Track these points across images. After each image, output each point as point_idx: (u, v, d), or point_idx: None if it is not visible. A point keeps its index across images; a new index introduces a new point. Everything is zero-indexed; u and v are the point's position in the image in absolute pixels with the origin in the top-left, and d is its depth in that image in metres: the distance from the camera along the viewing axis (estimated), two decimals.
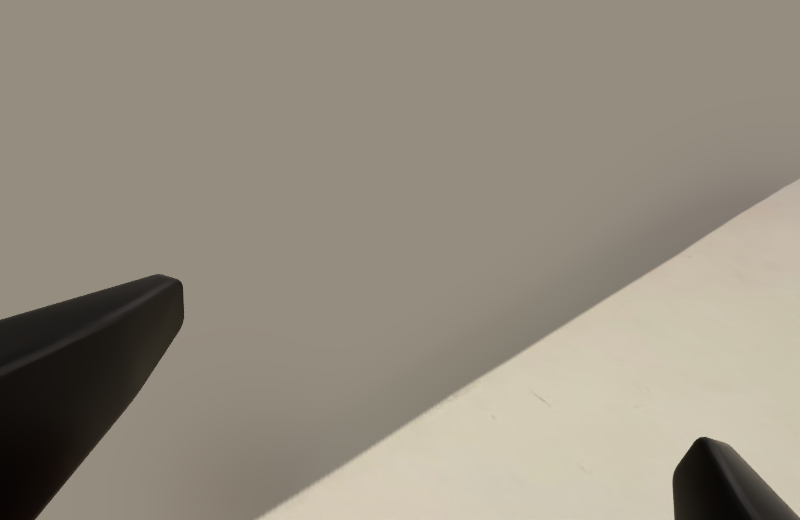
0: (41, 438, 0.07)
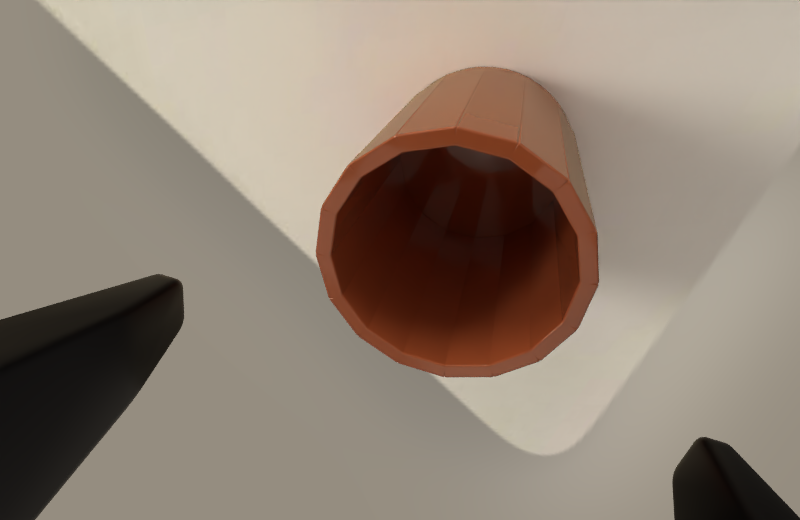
0: (41, 438, 0.07)
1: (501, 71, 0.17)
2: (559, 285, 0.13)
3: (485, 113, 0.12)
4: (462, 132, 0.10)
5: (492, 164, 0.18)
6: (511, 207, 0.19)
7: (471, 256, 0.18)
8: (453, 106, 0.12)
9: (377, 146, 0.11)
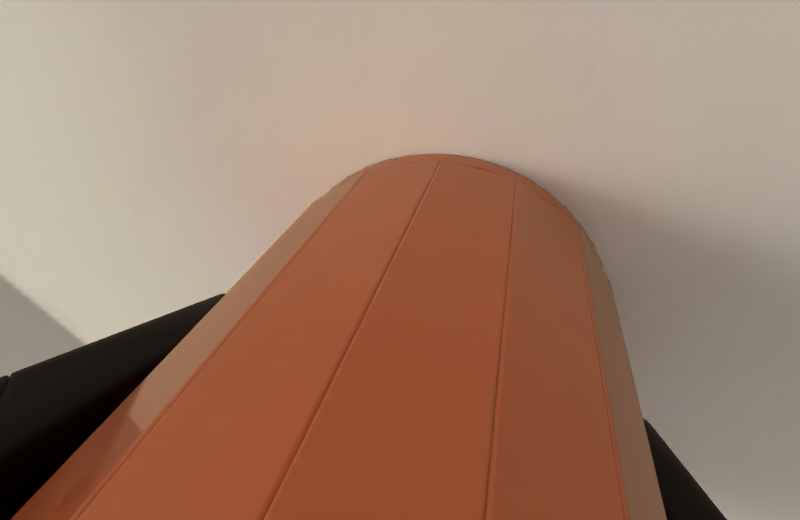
0: None
1: (468, 170, 0.08)
2: None
3: (371, 449, 0.03)
4: None
5: None
6: None
7: None
8: (286, 387, 0.04)
9: None
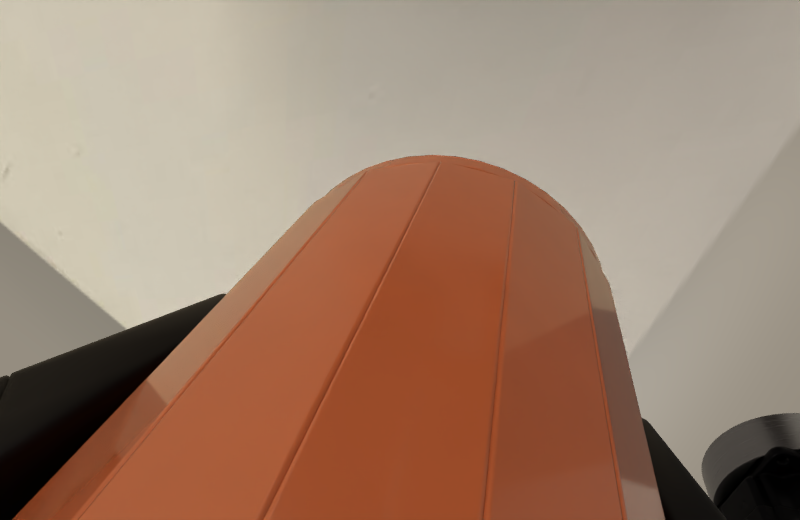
0: None
1: (468, 171, 0.08)
2: None
3: (370, 451, 0.03)
4: None
5: None
6: None
7: None
8: (286, 389, 0.04)
9: None
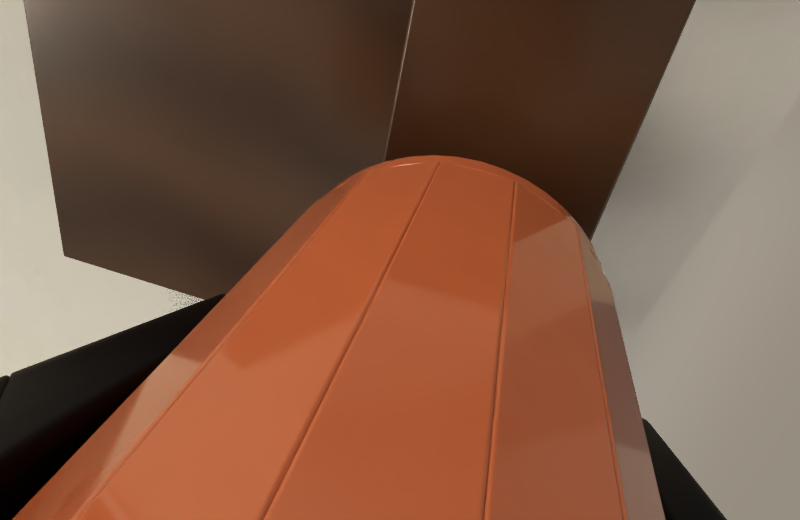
0: None
1: (468, 171, 0.08)
2: None
3: (369, 454, 0.03)
4: None
5: None
6: None
7: None
8: (285, 391, 0.04)
9: None
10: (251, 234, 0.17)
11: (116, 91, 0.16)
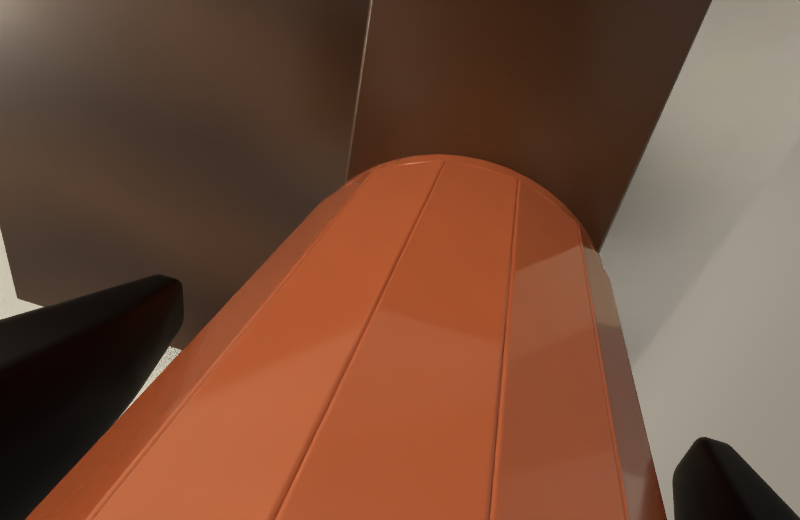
0: (41, 438, 0.07)
1: (472, 169, 0.09)
2: None
3: (386, 427, 0.04)
4: None
5: None
6: None
7: None
8: (306, 371, 0.04)
9: None
10: (212, 280, 0.16)
11: (59, 129, 0.15)
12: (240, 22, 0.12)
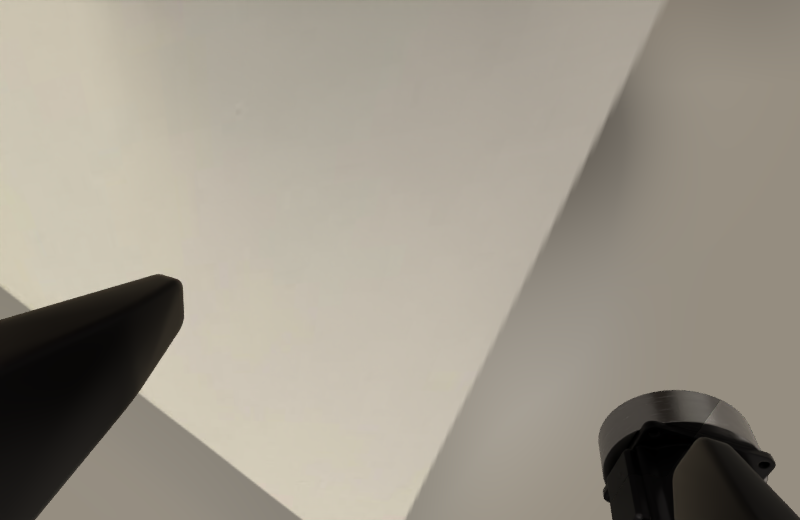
0: (41, 438, 0.07)
1: None
2: None
3: None
4: None
5: None
6: None
7: None
8: None
9: None
10: None
11: None
12: None
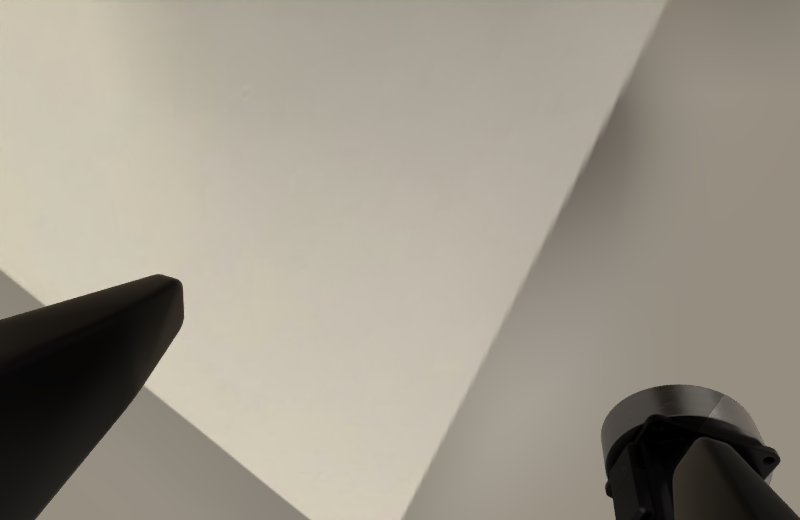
0: (41, 438, 0.07)
1: None
2: None
3: None
4: None
5: None
6: None
7: None
8: None
9: None
10: None
11: None
12: None
